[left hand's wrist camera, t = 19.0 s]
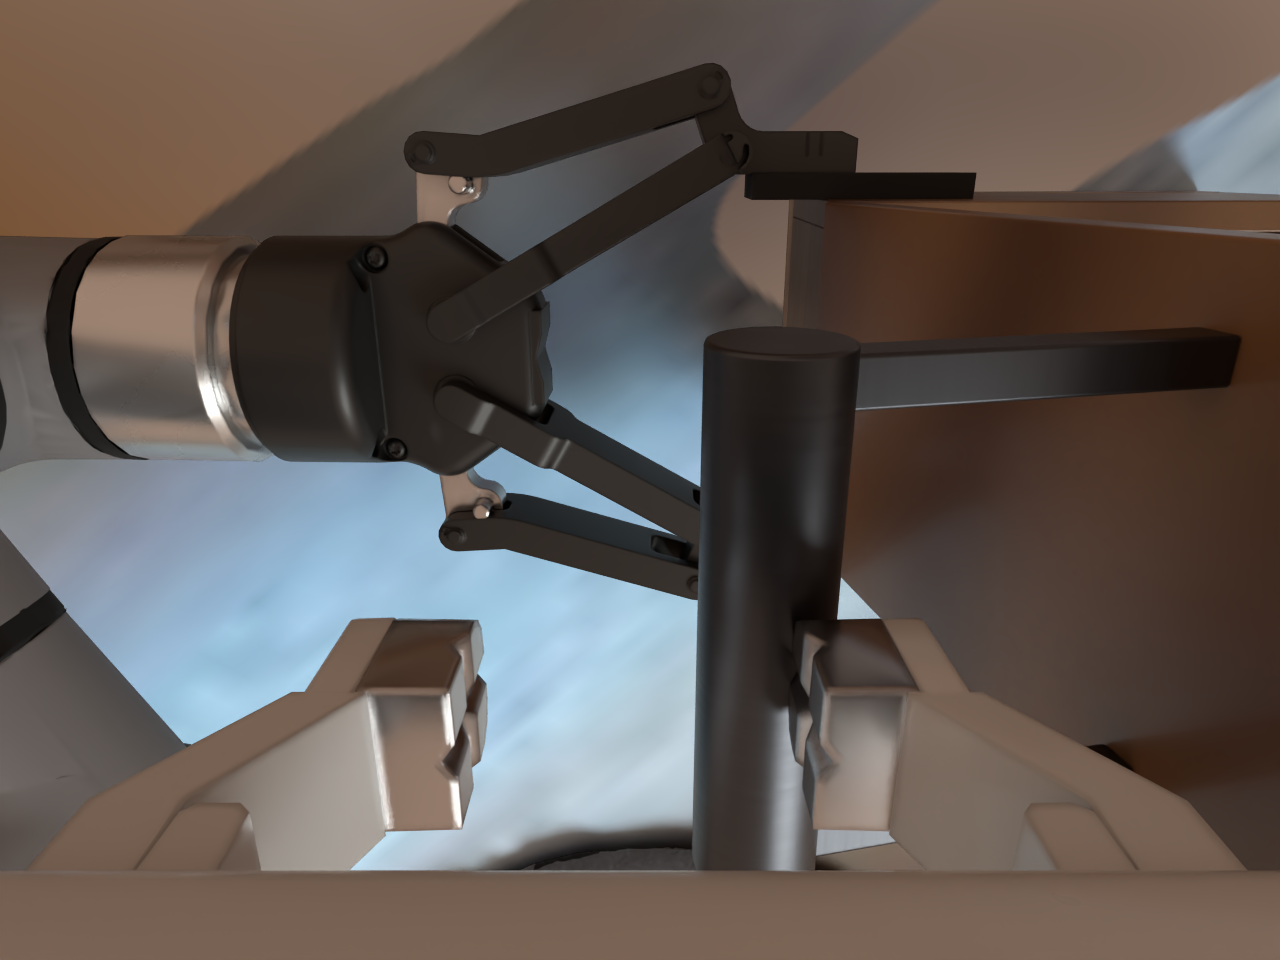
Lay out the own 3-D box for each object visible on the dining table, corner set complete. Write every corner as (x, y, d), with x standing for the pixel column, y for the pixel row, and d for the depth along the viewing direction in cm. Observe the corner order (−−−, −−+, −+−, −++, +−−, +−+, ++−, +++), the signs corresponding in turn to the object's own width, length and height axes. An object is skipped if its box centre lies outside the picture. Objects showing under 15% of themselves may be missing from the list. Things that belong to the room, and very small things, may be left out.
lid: (1648, 261, 8) (839, 287, 6) (1340, 1022, 11) (770, 1163, 10) (857, 201, 23) (563, 205, 21) (830, 534, 26) (575, 558, 25)
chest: (1199, 191, 32) (1414, 199, 23) (1145, 439, 35) (1313, 534, 26) (789, 192, 32) (836, 201, 23) (776, 436, 36) (812, 529, 27)
